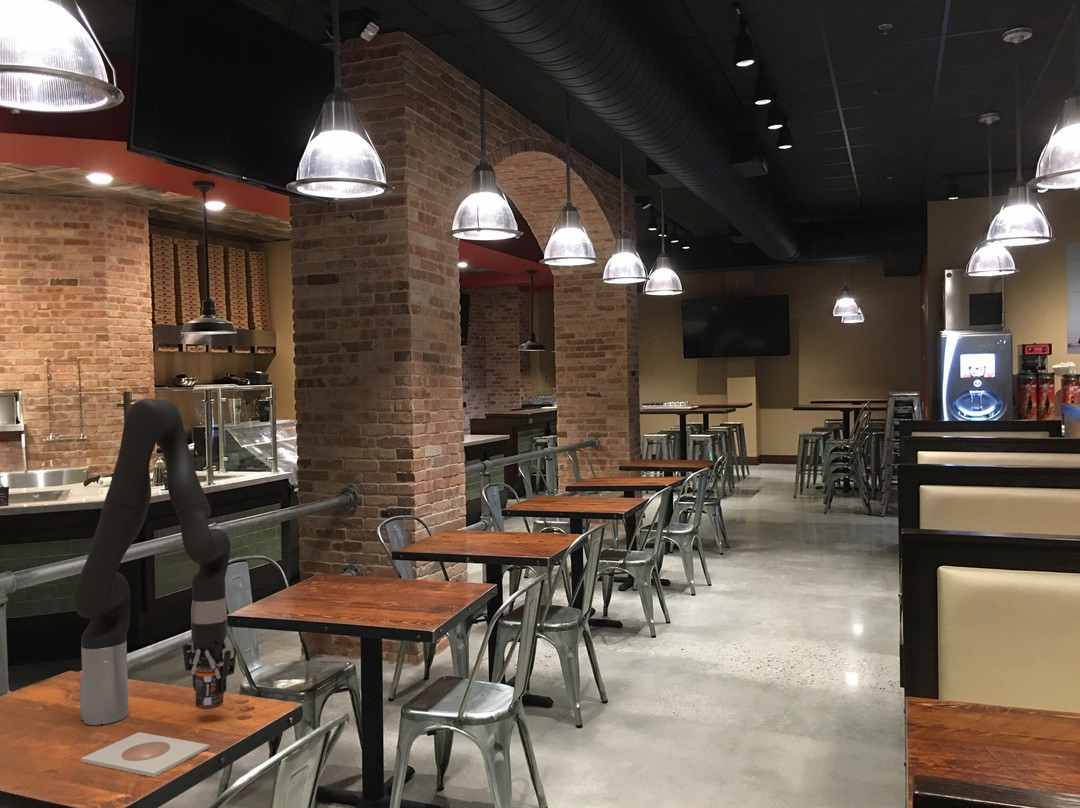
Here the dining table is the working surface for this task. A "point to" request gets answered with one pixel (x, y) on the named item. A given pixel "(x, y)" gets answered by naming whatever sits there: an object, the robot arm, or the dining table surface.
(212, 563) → the robot arm
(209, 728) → the dining table surface
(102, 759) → the board
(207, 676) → the supplement bottle
